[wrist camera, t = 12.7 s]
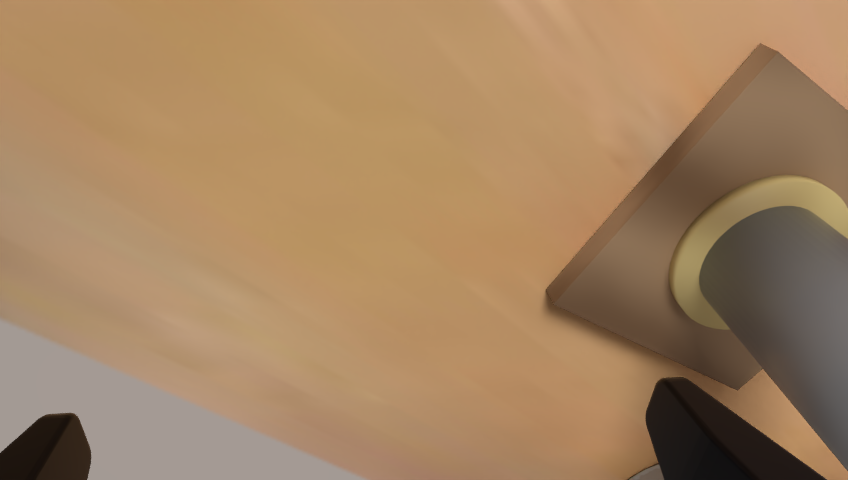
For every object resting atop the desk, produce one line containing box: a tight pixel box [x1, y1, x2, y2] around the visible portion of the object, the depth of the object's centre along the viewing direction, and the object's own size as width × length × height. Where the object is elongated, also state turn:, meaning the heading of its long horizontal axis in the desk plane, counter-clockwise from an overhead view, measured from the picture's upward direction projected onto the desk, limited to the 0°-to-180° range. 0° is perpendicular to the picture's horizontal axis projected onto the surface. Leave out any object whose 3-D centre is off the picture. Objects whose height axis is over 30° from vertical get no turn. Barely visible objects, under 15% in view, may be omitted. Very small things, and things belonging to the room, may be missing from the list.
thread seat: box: [546, 44, 848, 390], centre depth 25 cm, size 12×12×2 cm
